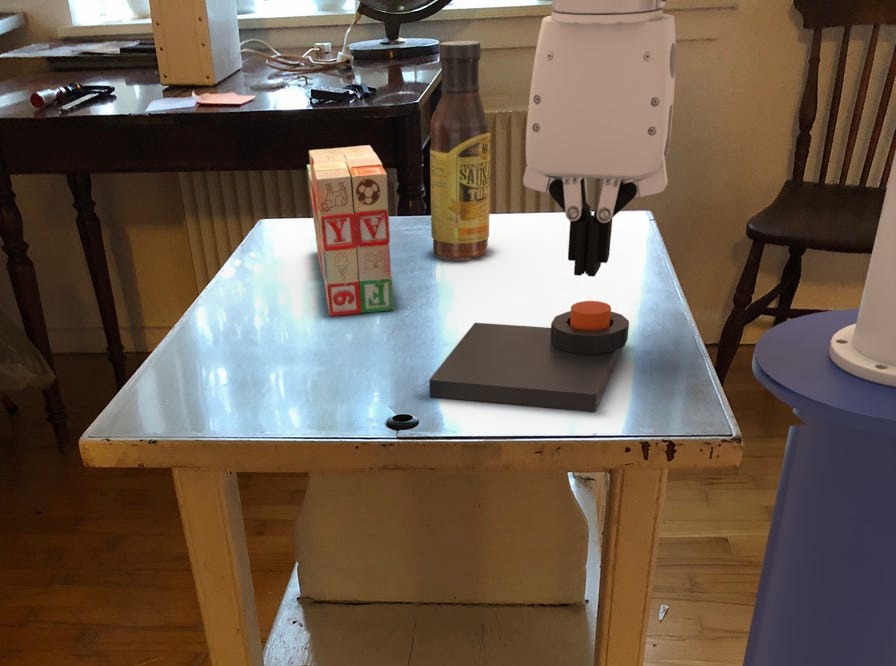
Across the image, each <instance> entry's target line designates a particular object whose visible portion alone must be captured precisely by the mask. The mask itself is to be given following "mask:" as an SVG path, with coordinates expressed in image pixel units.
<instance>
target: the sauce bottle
mask: <svg viewBox="0 0 896 666" xmlns="http://www.w3.org/2000/svg"><path fill="white" fill-rule="evenodd" d="M438 47H439V48H438V49H439V51H438V52H439V56H438V57H439V60H440V63H441V86H440V92H441V93H440V94H441V98H440V100H439V101H438V104H437V105H436V108H435V111H434V112H433V114H432V116H431V121H430V147H429V168H430V169H429V170H430V171H429V172H430V226H431V228H430V229H431V231H430V233H431V234H430V235H431V238H432V251H433V254H434V255H435V256H437V257H438V258H441V259H448V260H451V261H453V260H454V261H455V260H467V259H475V258H478V257H481V256H482V255H484V254H485V253H486V252H487V248H488V241H489V237H490V194H491V193H490V192H491V186H490V185H491V182H490V179H491V130H490V126H489V122H488V120H487V117H486V113H485V109H484V106H483V102H482V99H481V95H480V85H479V72H480V71H479V70H480V69H479V67H480V66H479V65H480V62H479V61H481V53H482V50H481V42H480V41H477V40H452V41H443V42H440V43H439V46H438Z"/></svg>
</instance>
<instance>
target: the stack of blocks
mask: <svg viewBox="0 0 896 666" xmlns="http://www.w3.org/2000/svg"><path fill="white" fill-rule="evenodd" d="M308 156H309V164H306V170H307V171H306V174H307V181H308V183H307V184H308V190H309V191H308V192H309V197H310V201H311V209H312V219H313V225H314V233H315V242H316V250H317V251H316V252H317V256H318V264H319V267H320V273H321V277H322V279H323V285H324V288H325V295H326V296H325V297H326V302H327V308H328V314H329V316H330V317H337V316H348V315H358V314H366V313H377V312H389V311H393V310H394V295H393V292H394V291H393V277H392V270H391V269H392V268H391V251H390V248H391V247H390V243H391V234H390V218H389V216H390V215H389V203H388V198H389V197H388V176H387V175H388V174H387V172H386V171H385V169H384V167H383V163H382V161H381V160H380V158H379V156H378V154H377V153H376V152H375V151H374V149H373V147H372V146H371V145H370V144H368V145H356V146H346V147H334V148H321V149H311V150H310V149H309V150H308Z"/></svg>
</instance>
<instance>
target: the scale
mask: <svg viewBox="0 0 896 666" xmlns="http://www.w3.org/2000/svg"><path fill="white" fill-rule="evenodd" d="M570 317H571V310H569V311H566V312H563V313H561V314H558V315H555V317H554V318H553V319H552V321H551V323H550V327H548V326H547V327H545V326H531V325H530V326H529V325H518V324H517V325H516V324H502V323H501V324H499V323H498V324H497V323H486V322H474V323H473V324H472V326H471V327H470V328H469V330H468V331H467V332H466V333H465V334H464V336H463V337H462V339H461V340H460V341H459V342H457V344H456V346H455V347H454V348H453V349H452V351H451V352H450V353H449V354H448V355H447V357H446V358H445V359H444V361H443V362H442V363H441V364H440V366H439V367H438V368H437V370H436V371H435V372H434V373H433V374H432V376H431V377H430V378H429V380H428V383H429V384H428V385H429V387H428V388H429V397H431V398H443V399H455V400H466V401H474V402H475V401H476V402H486V403H487V402H488V403H497V404H509V405H519V406H520V405H521V406H522V405H523V406H531V407H532V406H533V407H540V408H541V407H542V408H554V409H565V410H574V411H575V410H576V411H587V412H595V411H596V410H597V407H598V405H599V403H600V401H601V399H602V396H603V394H604V392H605V390H606V387H607V385H608V383H609V381H610V380H609V379H610V378H611V376H612V374H613V371H614V369H615V367H616V365H617V362H618V360H619V358H620V356H621V353H622V352H623V349H624V348H625V346H626V344H627V343H628V339H629V329H630V321H629V319H627V318H626V317H625V316H624V315H623V314H621V313H617V312H614V311H611V315H610V326H609V327H608V328H605V329H599V330H580V329H576V328H573V327H570Z"/></svg>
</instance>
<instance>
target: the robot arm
mask: <svg viewBox="0 0 896 666" xmlns="http://www.w3.org/2000/svg"><path fill="white" fill-rule="evenodd" d="M669 1H670V0H551V15H547V16H545V17H543V18H542V20H541V24H540V29H539V34H538V38H537V43H536V50H535V55H534V61H533V68H532V76H531V83H530V92H529V101H528V108H527V119H526V122H527V123H526V131H525V161H526V167H525V170H524V175H523V177H522V184H523V186H524V187H525V188H527V189H530V190H533V191H537V192H539V193H542V194H548V195H550V196H551V198H553V200H554V201H555V202H556V203H557V205H558V206H559V207H560V208H561V209H562V211H563V212H564V213H565V217H566V219H567V220H568V221H569V222H570V223H569V234H568V235H569V236H568V250H567V251H568V252H567V260H568V261H569V262H570V261H571V262H574V267H573V268H574V269H573V275H574V276H579V277H580V276H582V275H587V277H596V275H597V273H598V272H599V270H600V269H601V265H602V263H603V264H607V263H608V261H609V257H610V253H611V252H610V251H611V241H612V240H611V239H612V230H613V229H612V228H613V218H614V217H615V216H616V215H617V214H618V213H620V211H621V210H623V209H624V208H625V207H626V206H627V205H628V204H629V203H630V202H632V200H635V199H641V198H646V197H650V196H651V197H652V196H655V195H661V194H663V192H664V191H665V190H666V188H667V186H668V183H669V181H668V173H667V165H666V164H667V163H666V160H667V158H668V155H669V151H670V146H671V145H670V144H671V138H672V137H671V136H672V127H673V114H674V103H675V102H674V100H675V85H676V84H675V83H676V66H677V65H676V63H677V62H676V61H677V50H676V49H677V48H676V47H677V45H676V23H675V15H673V14H665V13H664V7H665V6H666V3H667V2H669ZM587 179H603V182H602V183H603V184H602V188H601V193H600V197H599V201H598V206H597V208H596V209H595V211H594V212H592V211H591V206H590V205H589V200H588V198H589V197H588V186H587V184H588V183H587ZM592 213H593V214H592ZM875 234H876V235H875V240H874V244H873V248H872V253H871V256H870V262H869V266H868V270H867V274H866V279H865V283H864V287H863V292H862V296H861V301H860V306H859V308H860V309H859V313H858V318H857V322H856V324H853V325H850V326H847V327H845V328H843V329H841V330H839V331H838V332H837V333H836V334H834V335H833V337H832V339H831V343H830V348H829V355H830V358H831V360H832V361H833V362H834V363H835V364H836V365H837V366H838V367H840V368H841V369H843V370H844V371H846V372H848V373H850V374H852V375H854V376H856V377H859V378H862V379H864V380H867V381H870V382H874V383H878V384H882V385H886V386H891V387H896V150H895V151H894V156H893V160H892V163H891V169H890V174H889V177H888V182H887V187H886V191H885V194H884V199H883V204H882V209H881V212H880V217H879V222H878V225H877V231H876V233H875Z"/></svg>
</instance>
